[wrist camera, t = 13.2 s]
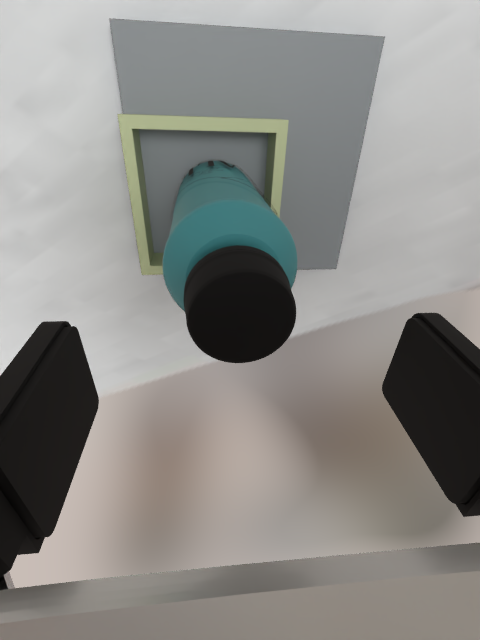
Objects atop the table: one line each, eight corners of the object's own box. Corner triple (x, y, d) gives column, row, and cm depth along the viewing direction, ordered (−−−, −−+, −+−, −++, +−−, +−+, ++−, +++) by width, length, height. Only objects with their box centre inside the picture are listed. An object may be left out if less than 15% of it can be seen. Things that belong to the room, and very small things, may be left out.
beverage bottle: (212, 248, 30) (233, 419, 13) (159, 191, 27) (100, 324, 10) (267, 201, 28) (371, 331, 12) (218, 134, 25) (263, 181, 8)
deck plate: (375, 40, 24) (407, 27, 20) (330, 263, 34) (347, 282, 30) (114, 23, 22) (97, 6, 18) (147, 266, 32) (141, 287, 28)
